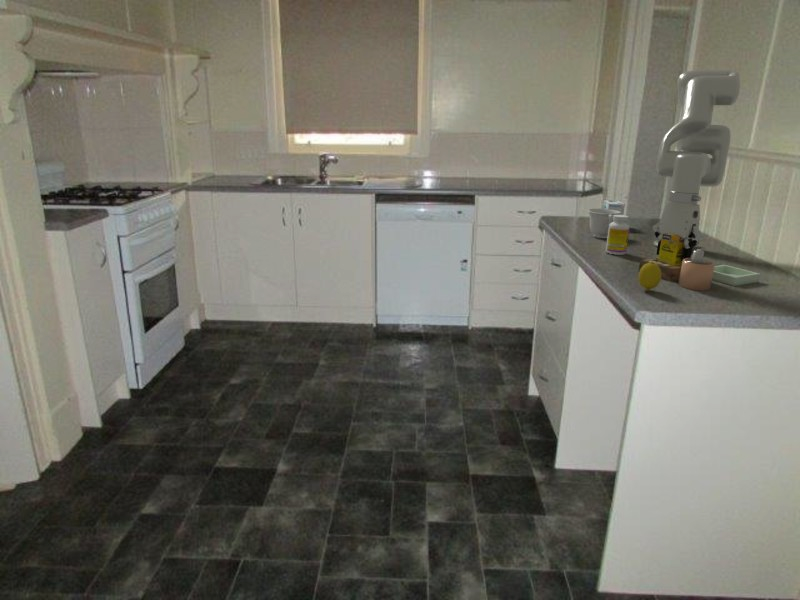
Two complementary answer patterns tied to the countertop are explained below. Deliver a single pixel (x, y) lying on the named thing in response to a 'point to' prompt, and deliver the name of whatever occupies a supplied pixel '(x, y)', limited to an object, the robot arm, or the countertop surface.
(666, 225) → the robot arm
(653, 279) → the lemon
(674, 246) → the supplement box
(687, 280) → the tan dispenser bottle
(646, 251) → the countertop surface
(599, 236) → the teacup
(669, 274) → the wooden cubby shelf
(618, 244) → the supplement bottle
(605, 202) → the light bulb box
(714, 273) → the pale green square tray
